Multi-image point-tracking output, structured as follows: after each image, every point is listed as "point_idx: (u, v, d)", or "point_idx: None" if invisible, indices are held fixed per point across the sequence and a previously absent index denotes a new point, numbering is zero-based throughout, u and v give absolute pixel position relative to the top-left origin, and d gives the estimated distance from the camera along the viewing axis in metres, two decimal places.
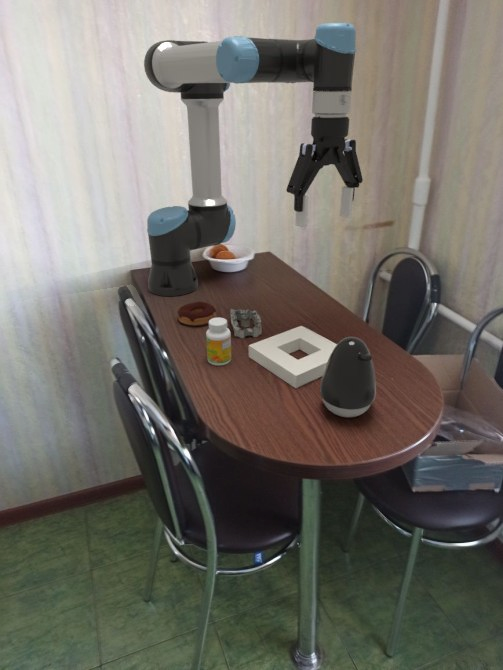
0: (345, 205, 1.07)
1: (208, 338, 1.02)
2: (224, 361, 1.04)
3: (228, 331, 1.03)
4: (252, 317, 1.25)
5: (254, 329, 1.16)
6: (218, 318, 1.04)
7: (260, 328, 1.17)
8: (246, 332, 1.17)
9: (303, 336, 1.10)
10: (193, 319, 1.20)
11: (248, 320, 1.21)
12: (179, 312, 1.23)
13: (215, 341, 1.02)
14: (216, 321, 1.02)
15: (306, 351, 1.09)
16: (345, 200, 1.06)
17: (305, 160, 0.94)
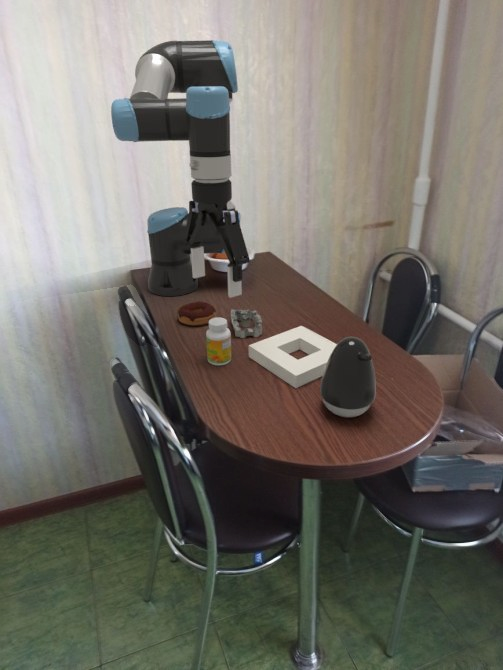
0: None
1: (208, 338, 1.02)
2: (224, 361, 1.04)
3: (228, 331, 1.03)
4: (252, 317, 1.25)
5: (255, 329, 1.16)
6: (218, 318, 1.04)
7: (261, 328, 1.17)
8: (247, 332, 1.17)
9: (303, 336, 1.10)
10: (193, 319, 1.20)
11: (248, 320, 1.21)
12: (179, 312, 1.23)
13: (215, 341, 1.02)
14: (216, 321, 1.02)
15: (306, 351, 1.09)
16: None
17: None
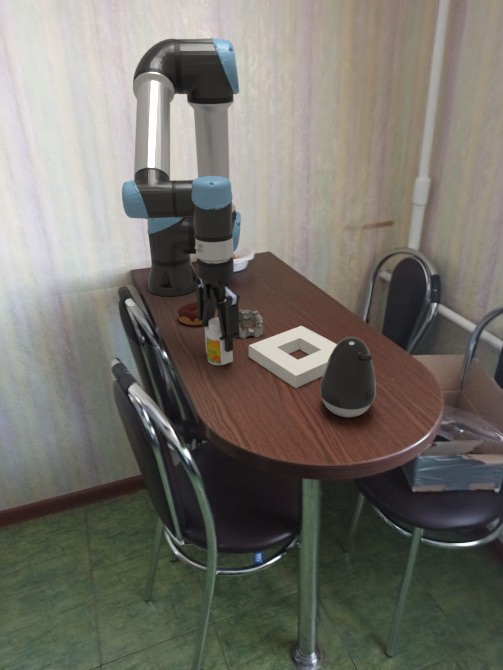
0: None
1: (208, 338, 1.02)
2: None
3: None
4: (253, 317, 1.25)
5: (255, 329, 1.15)
6: (218, 318, 1.04)
7: (261, 328, 1.17)
8: (247, 332, 1.17)
9: (303, 336, 1.10)
10: (193, 319, 1.20)
11: (249, 320, 1.21)
12: (179, 312, 1.23)
13: (215, 341, 1.02)
14: (216, 321, 1.02)
15: (306, 351, 1.09)
16: None
17: None
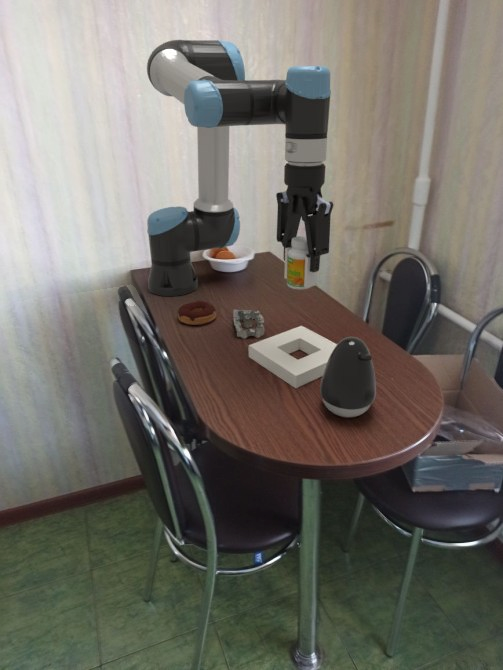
0: None
1: (291, 258, 0.93)
2: None
3: None
4: (255, 318, 1.25)
5: (256, 330, 1.15)
6: (301, 237, 0.95)
7: (263, 329, 1.17)
8: (248, 332, 1.16)
9: (303, 336, 1.10)
10: (193, 318, 1.20)
11: (251, 320, 1.21)
12: (179, 311, 1.23)
13: (300, 260, 0.93)
14: (300, 239, 0.93)
15: (306, 351, 1.09)
16: None
17: None
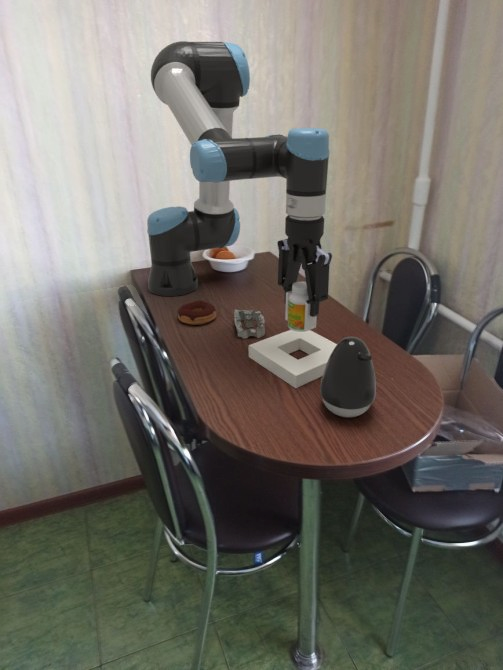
0: None
1: (292, 302, 0.98)
2: None
3: None
4: (256, 318, 1.24)
5: (257, 330, 1.15)
6: (301, 282, 0.99)
7: (263, 329, 1.17)
8: (249, 333, 1.16)
9: (303, 336, 1.10)
10: (193, 318, 1.20)
11: (252, 321, 1.20)
12: (179, 311, 1.23)
13: (300, 305, 0.97)
14: (300, 285, 0.98)
15: (306, 351, 1.09)
16: None
17: None
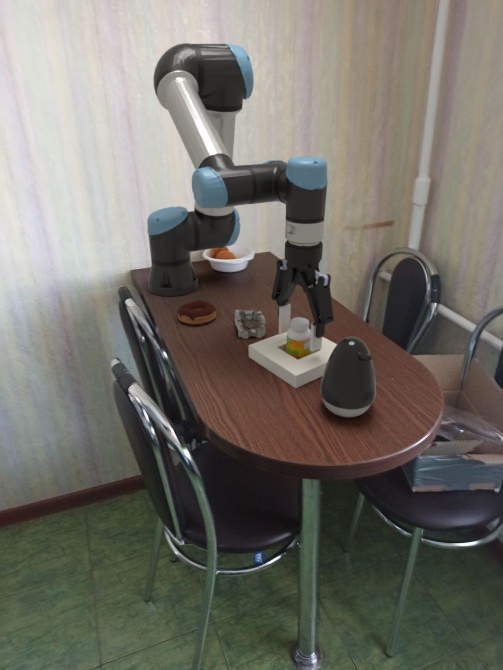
0: None
1: (290, 338, 1.02)
2: None
3: (309, 331, 1.03)
4: (257, 318, 1.24)
5: (258, 330, 1.15)
6: (299, 318, 1.03)
7: (264, 329, 1.16)
8: (250, 333, 1.16)
9: None
10: (193, 318, 1.21)
11: (252, 321, 1.20)
12: (179, 311, 1.23)
13: (298, 341, 1.01)
14: (298, 321, 1.02)
15: None
16: None
17: None
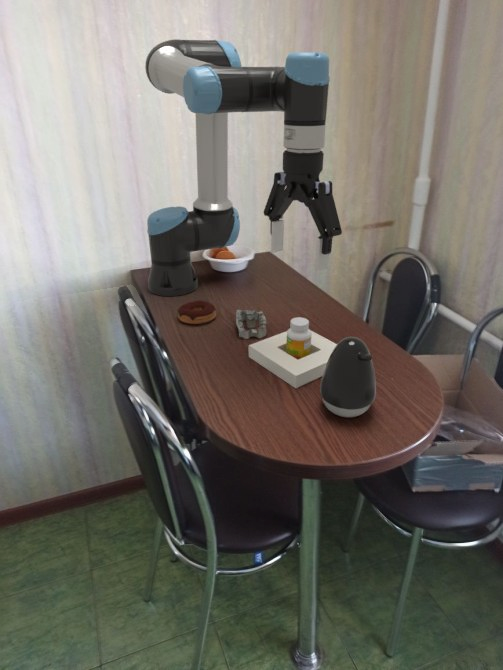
0: None
1: (290, 338, 1.02)
2: None
3: (309, 331, 1.03)
4: (258, 318, 1.24)
5: (258, 330, 1.15)
6: (299, 318, 1.03)
7: (265, 329, 1.16)
8: (251, 333, 1.16)
9: None
10: (193, 318, 1.21)
11: (254, 321, 1.20)
12: (179, 311, 1.23)
13: (298, 341, 1.01)
14: (298, 321, 1.02)
15: None
16: None
17: None
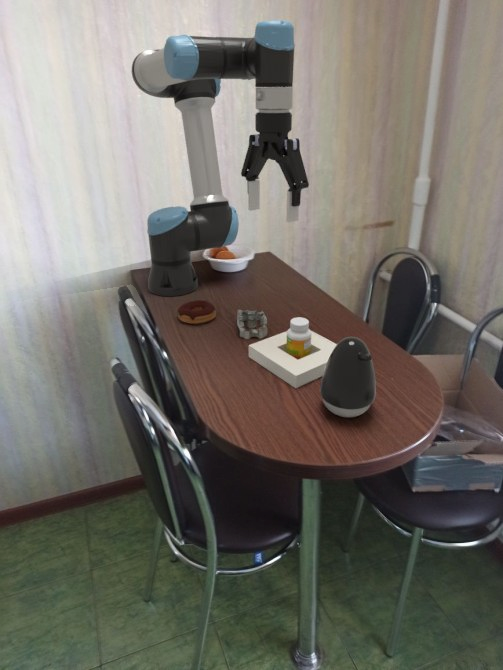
0: None
1: (290, 338, 1.02)
2: None
3: (309, 331, 1.03)
4: (259, 318, 1.24)
5: (259, 330, 1.15)
6: (299, 318, 1.03)
7: (266, 329, 1.16)
8: (251, 333, 1.16)
9: None
10: (193, 317, 1.21)
11: (254, 321, 1.20)
12: (179, 311, 1.23)
13: (298, 341, 1.01)
14: (298, 321, 1.02)
15: None
16: None
17: None
